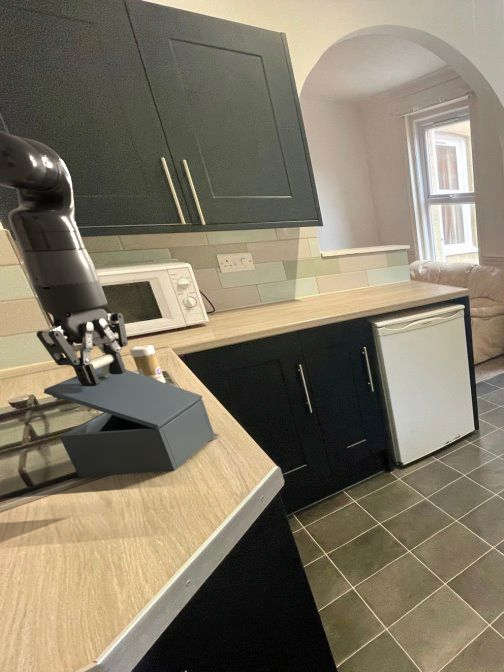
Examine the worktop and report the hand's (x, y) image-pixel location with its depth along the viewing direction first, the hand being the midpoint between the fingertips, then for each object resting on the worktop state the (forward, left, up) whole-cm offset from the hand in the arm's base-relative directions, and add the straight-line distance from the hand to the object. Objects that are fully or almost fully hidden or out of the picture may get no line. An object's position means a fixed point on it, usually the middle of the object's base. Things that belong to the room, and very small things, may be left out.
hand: (105, 379), depth 73 cm
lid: (+3, 0, -3) cm, 5 cm away
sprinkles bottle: (-19, +35, -17) cm, 44 cm away
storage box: (+3, 0, -17) cm, 17 cm away
